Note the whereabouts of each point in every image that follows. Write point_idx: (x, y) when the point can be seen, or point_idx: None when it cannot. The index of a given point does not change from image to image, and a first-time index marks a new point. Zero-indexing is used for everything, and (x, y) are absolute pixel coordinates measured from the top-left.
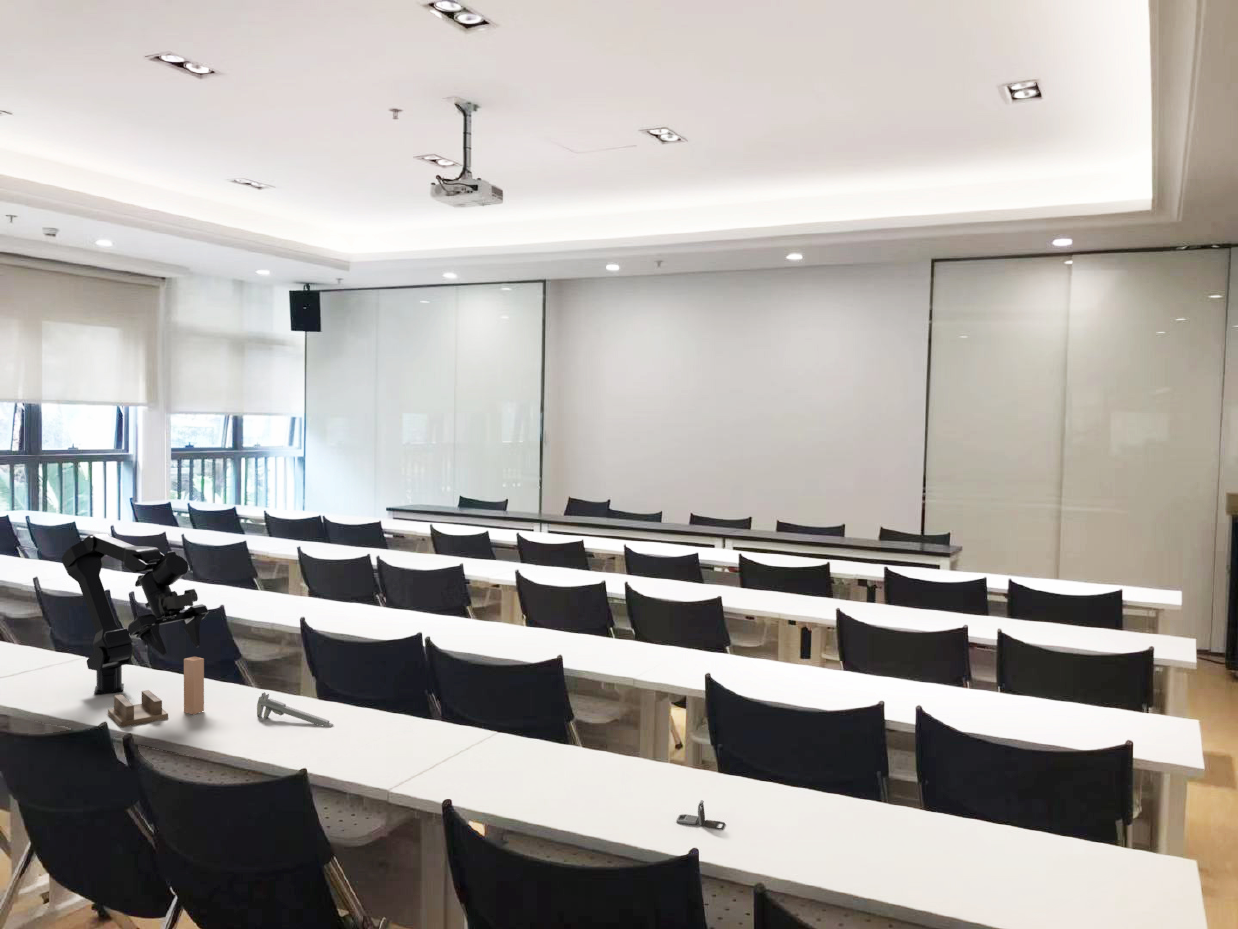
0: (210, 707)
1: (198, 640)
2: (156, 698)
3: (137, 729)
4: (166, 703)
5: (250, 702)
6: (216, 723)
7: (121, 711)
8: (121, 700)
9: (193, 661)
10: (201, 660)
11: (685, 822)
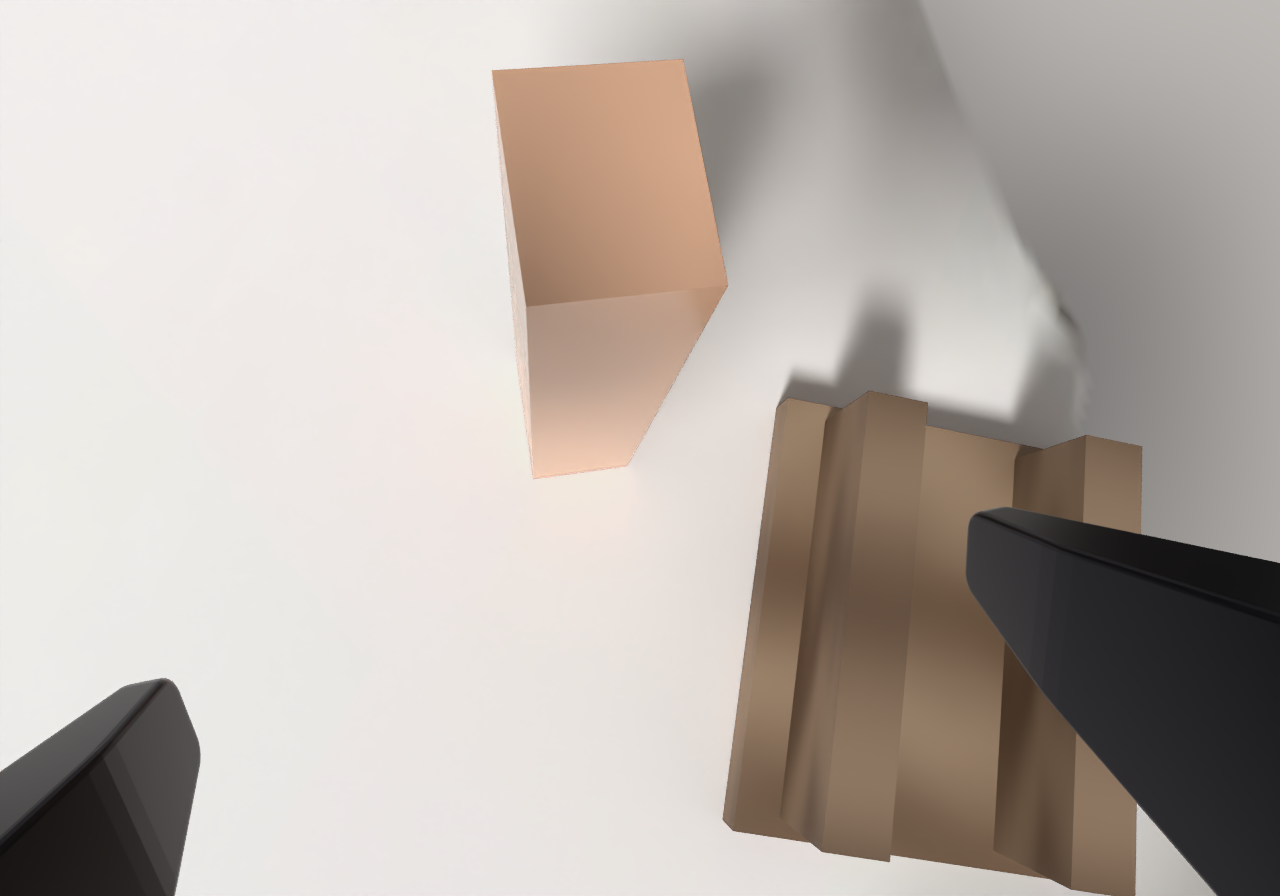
0: (418, 432)
1: (58, 747)
2: (878, 491)
3: (1008, 348)
4: (604, 832)
5: (120, 309)
6: None
7: None
8: None
9: (682, 63)
10: (536, 83)
11: None
